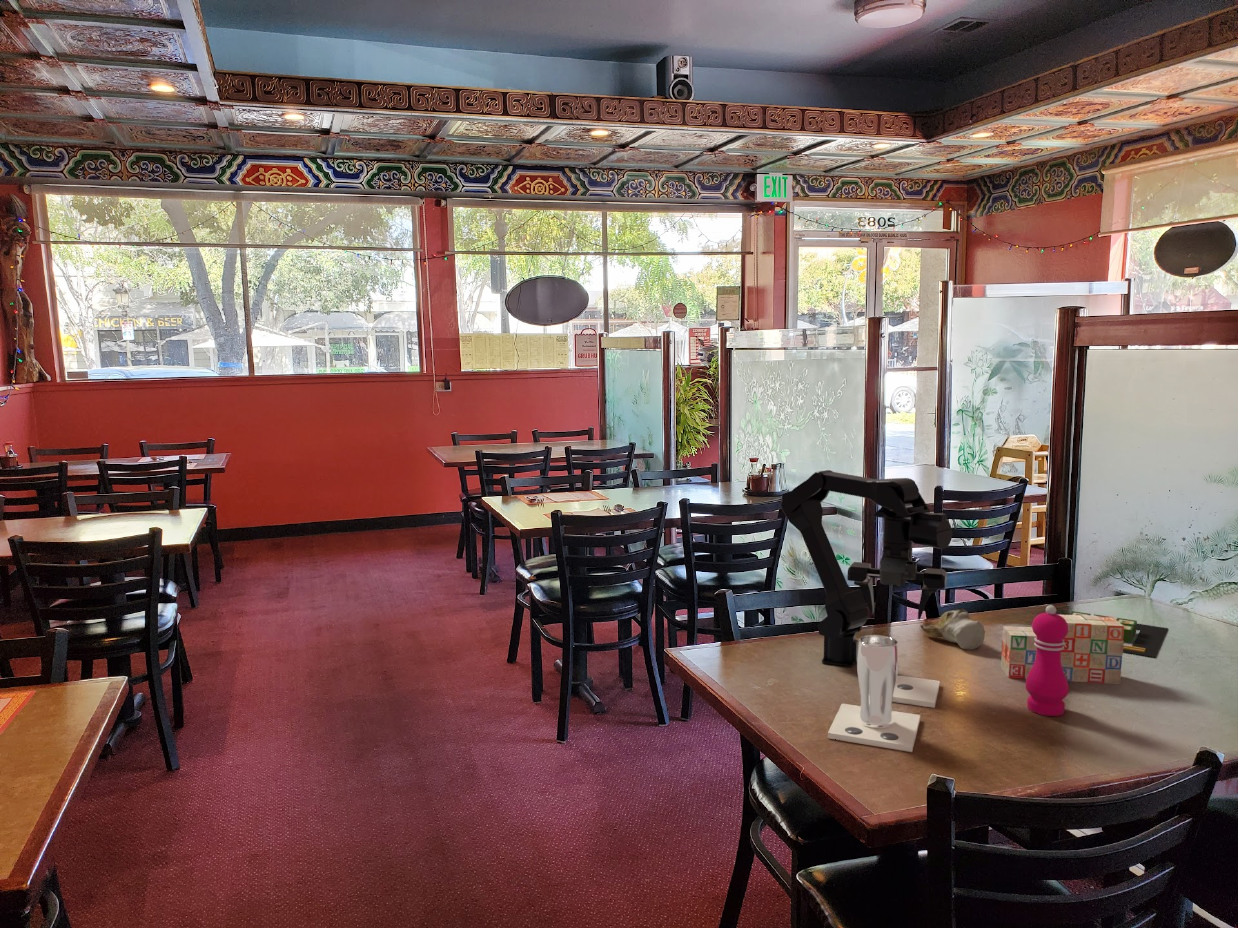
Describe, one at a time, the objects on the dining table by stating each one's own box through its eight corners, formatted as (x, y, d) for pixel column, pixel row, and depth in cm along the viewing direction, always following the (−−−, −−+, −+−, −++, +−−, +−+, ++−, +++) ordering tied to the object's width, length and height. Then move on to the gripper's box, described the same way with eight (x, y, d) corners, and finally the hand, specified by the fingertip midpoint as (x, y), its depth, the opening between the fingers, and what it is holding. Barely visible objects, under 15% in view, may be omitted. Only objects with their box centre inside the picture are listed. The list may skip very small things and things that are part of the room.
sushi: (1030, 639, 208) (1031, 624, 207) (1053, 614, 227) (1054, 600, 227) (1154, 660, 193) (1155, 644, 192) (1167, 631, 212) (1168, 616, 212)
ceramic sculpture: (958, 616, 195) (918, 601, 209) (958, 654, 195) (917, 638, 210) (999, 612, 198) (957, 598, 212) (999, 650, 198) (956, 634, 213)
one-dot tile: (869, 698, 172) (869, 693, 172) (877, 677, 183) (877, 672, 183) (934, 707, 167) (935, 702, 167) (939, 685, 178) (939, 680, 178)
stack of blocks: (1008, 678, 182) (1010, 620, 180) (1000, 668, 188) (1003, 611, 186) (1121, 684, 178) (1125, 624, 177) (1109, 673, 184) (1113, 615, 183)
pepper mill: (1016, 702, 169) (1021, 600, 166) (1053, 701, 170) (1058, 599, 167) (1037, 718, 162) (1043, 611, 159) (1075, 716, 162) (1081, 610, 160)
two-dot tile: (827, 738, 154) (827, 732, 154) (841, 708, 167) (841, 703, 167) (912, 752, 149) (912, 746, 149) (920, 720, 161) (920, 714, 161)
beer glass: (886, 733, 154) (889, 649, 152) (849, 723, 158) (851, 641, 156) (902, 720, 159) (905, 639, 157) (865, 710, 163) (867, 631, 161)
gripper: (843, 545, 175) (841, 622, 177) (944, 553, 168) (941, 633, 170) (852, 534, 185) (851, 607, 187) (948, 541, 178) (945, 617, 180)
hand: (895, 616), depth 181 cm, fingers open, 9 cm apart
